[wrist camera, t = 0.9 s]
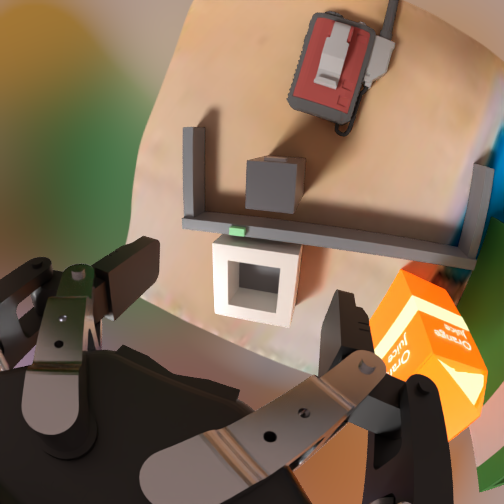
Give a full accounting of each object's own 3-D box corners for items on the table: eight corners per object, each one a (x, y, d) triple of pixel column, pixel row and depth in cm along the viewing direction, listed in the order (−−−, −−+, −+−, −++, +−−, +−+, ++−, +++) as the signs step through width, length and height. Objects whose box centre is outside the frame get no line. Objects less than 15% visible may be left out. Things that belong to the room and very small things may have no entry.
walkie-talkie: (363, 145, 26) (402, 0, 17) (368, 146, 22) (410, -17, 13) (283, 117, 27) (328, -24, 18) (275, 113, 23) (326, -43, 14)
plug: (306, 156, 27) (297, 161, 20) (303, 195, 29) (293, 214, 22) (268, 153, 28) (246, 157, 21) (266, 191, 30) (245, 208, 23)
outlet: (303, 239, 31) (298, 255, 27) (295, 306, 35) (289, 327, 31) (227, 229, 33) (212, 243, 29) (227, 294, 37) (214, 313, 33)
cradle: (481, 165, 21) (499, 170, 18) (462, 257, 26) (475, 272, 22) (195, 127, 29) (177, 127, 26) (196, 219, 34) (179, 230, 30)
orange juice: (365, 324, 33) (369, 467, 15) (400, 267, 29) (448, 409, 11) (411, 341, 32) (434, 471, 14) (447, 289, 28) (507, 417, 10)
